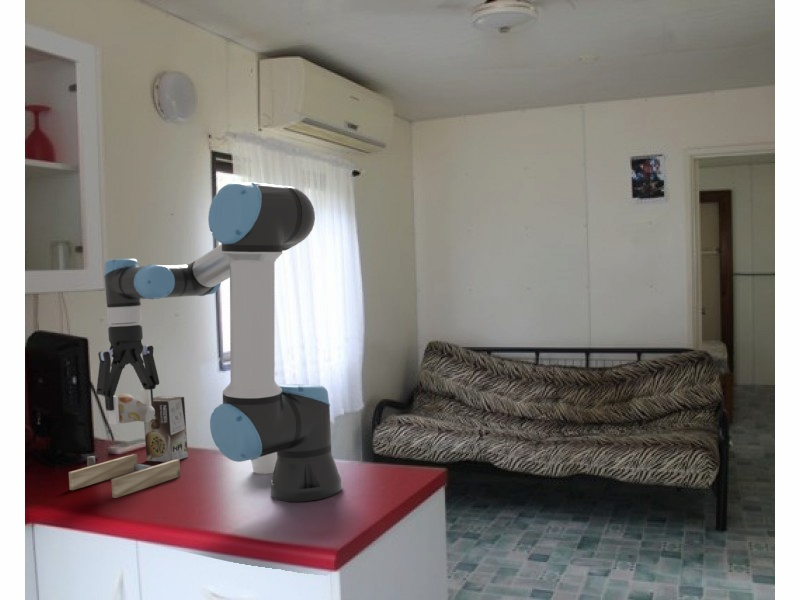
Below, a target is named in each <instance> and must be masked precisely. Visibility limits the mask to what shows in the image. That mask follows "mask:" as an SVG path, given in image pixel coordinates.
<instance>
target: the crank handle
mask: <svg viewBox="0 0 800 600" xmlns="http://www.w3.org/2000/svg"><path fill="white" fill-rule="evenodd" d="M86 461H87V462H86V463H87V466H86V467H89V466H93V465H96V456H95V455H91V456H86Z"/></svg>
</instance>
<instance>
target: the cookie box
mask: <svg viewBox="0 0 800 600" xmlns="http://www.w3.org/2000/svg"><path fill="white" fill-rule="evenodd" d="M185 403H186V402H185V396H156V397H154V396H153V402H151V406H152V407H153V408H154V410H155V415H154V416H155V419H152V420H151V421H149V422H143V429H144V440H145V441H144V443H145V456H146V461H147V462H162V463H165V462H169V461H172V460H175V459H177V460H179V461H180V460H184V459H186V458H188V457H189V453H188V452H189V451H188V437H187V436H188V435H187V423H186V422H187V421H186V420H187V419H186V418H187V417H186V406H185Z"/></svg>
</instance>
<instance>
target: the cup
mask: <svg viewBox="0 0 800 600" xmlns="http://www.w3.org/2000/svg"><path fill="white" fill-rule="evenodd" d="M250 461H251V466H252V471H253V473H255V474H257V473H258V475H268V474H269V473H270V474H273V473H274V468H275V465H276V461H277V452H275V453H272V454H268V455H265V456H262V457H259V458H257V459H254V460H250ZM270 474H269V475H270Z"/></svg>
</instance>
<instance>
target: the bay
mask: <svg viewBox="0 0 800 600" xmlns="http://www.w3.org/2000/svg"><path fill="white" fill-rule="evenodd" d="M180 468H181V466H180V460H177V459H175V460H172V461H169V462H162V463H160V464H156V465H150V464H142V463H138V454H137V453H131V454H128V455H125V456H122V457H117V458H114V459H111V460H108V461H104V462H100V463H95V465H93V466H89V467H87V466H86V467H82V468H79V469H76V470H72V471H68V483H69V485H68V486H69V490H70V491H74V490H77V489H81V488H85V487H88V486H91V485H93V484H98V483H101V482H105V481H107V480H111V493H112V498H114V499H117V498H120V497H123V496H126V495H129V494H133V493H135V492H138V491H141V490H144V489H147V488H150V487H153V486H156V485H158V484H162V483H164V482H167V481H171V480H174V479H176V478H180V477H181V469H180Z"/></svg>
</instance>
